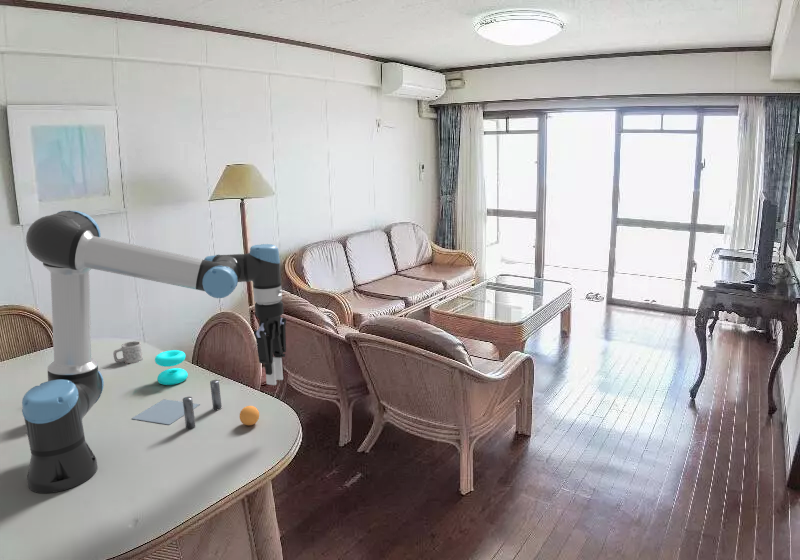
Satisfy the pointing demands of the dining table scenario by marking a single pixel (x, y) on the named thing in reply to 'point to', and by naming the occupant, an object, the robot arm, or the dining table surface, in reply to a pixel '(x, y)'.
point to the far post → (215, 394)
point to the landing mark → (163, 412)
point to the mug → (130, 352)
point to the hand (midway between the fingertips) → (275, 381)
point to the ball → (249, 415)
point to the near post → (189, 412)
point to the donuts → (172, 374)
